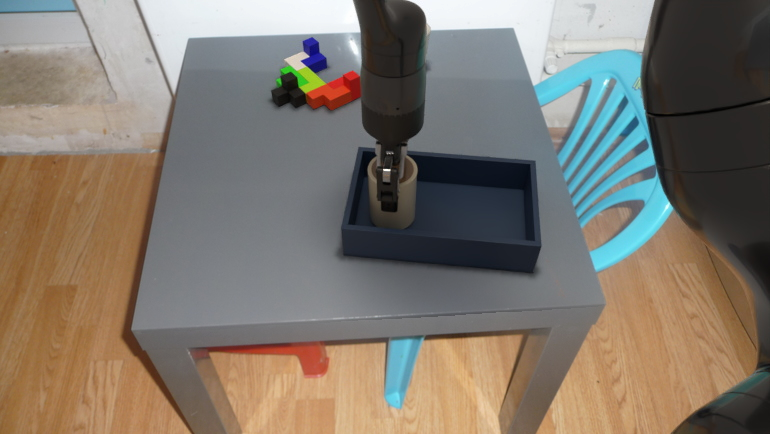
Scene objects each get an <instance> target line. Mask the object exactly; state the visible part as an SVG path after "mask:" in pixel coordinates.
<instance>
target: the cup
mask: <svg viewBox="0 0 770 434" xmlns="http://www.w3.org/2000/svg"><path fill="white" fill-rule="evenodd" d="M376 166H377V156H376V157H375V158H374V159H372V161H371V162H370V163H369V166H368V192H369V216H370V219H371V221H372V222H373V224H374V225H375V226H377V227H381V228H393V229H405V228H407V227H408V226H409V225H410V224H411V223H412V222H413V221H414V218H415V210H416V191H417V172H418V169H417V165H416V163H415V162H414V160H413V159H412V158H410V157H409V156H407V155H406V157H405V164H404V175H403V177H402V178H401V179H400V180H399V189H400V193H399V194H398V210H397V212H395V213H393V212H383V211H382V210H381V201H377V198H376V197H377V179H376V173H375V171H376ZM381 166H383V167H384V164H383V162H382V165H381ZM392 167H395V168H398V170H399V169H400V163H399V165H397V166H392Z"/></svg>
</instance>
